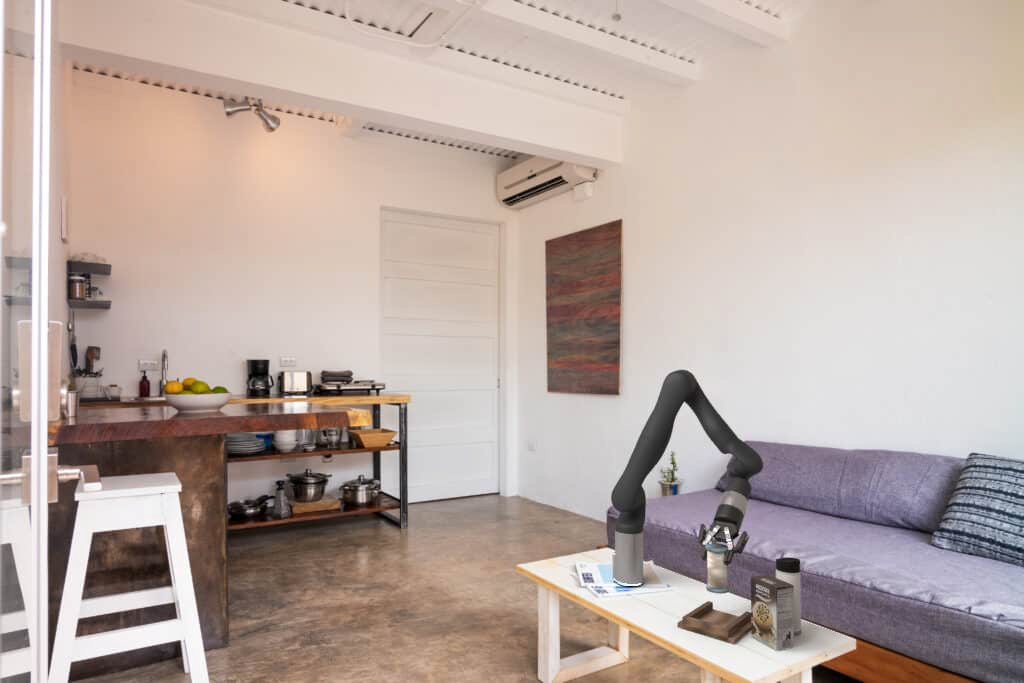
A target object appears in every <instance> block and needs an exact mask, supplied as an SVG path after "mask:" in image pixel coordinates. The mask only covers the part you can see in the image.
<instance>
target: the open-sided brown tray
mask: <svg viewBox="0 0 1024 683" xmlns="http://www.w3.org/2000/svg"><path fill="white" fill-rule="evenodd" d="M713 604H714V603H713V601H709V600H708V601H706V602H704V603H702V604H701V605H700V606H697V607H696V608H695V609H693V610H691V611H690V612H688V613H686V614H685V615H683V616H682V619H681V620H680V621H678V622H677V628H678V629H682V630H686V631H688V632H692V633H696V634H698V635H702V636H706V637H708V638H711V639H715V640H718V641H721V642H724V643H728V644H731V645H736V644H737V643H738V642H739V641H740V640H742V638H744V637H745V636H747V634H749V633H751V611H747V610H746V611H745V612H743V613H742V614H741V615H735V614H731V613H728V612H724V611H721V610H716V609H714V605H713Z"/></svg>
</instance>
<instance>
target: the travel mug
mask: <svg viewBox="0 0 1024 683" xmlns="http://www.w3.org/2000/svg"><path fill="white" fill-rule="evenodd" d="M801 577H802V576H801V560H800V558H795V557H785V556H784V557H781V558H776V559H775V578H777V579H780V580H782V581H785V582H787V583H789V584H792V585H794V637H796V636H800V635H801V634H802V588H801V586H802V584H801V581H802V580H801Z"/></svg>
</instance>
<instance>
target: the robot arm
mask: <svg viewBox="0 0 1024 683" xmlns="http://www.w3.org/2000/svg"><path fill="white" fill-rule="evenodd" d="M684 403H685V404H686V405H687V406H688V407H689V408H690V409H691V411H692V412H693V413H694V414H695V417H696V418H697V419H698V422H699V424H700V425H701V427H702V429H703V430H704V431H703V432H704V433H705V434H706V436H707V437H708V438H709V439H710V441H711V442H712V443H713V445H714V446H715V447H716V448H717V450H718V451H719V452H720V453H721V454H723V455H732V456H733V457H734V459H733V460H732V461H731V463H730V464H729V467H728V471H727V484H726V486H725V488H724V491H723V494H722V496H721V497H720V500H719V503H718V506H717V507H716V508H717V509H716V511H715V514H714V517H713V521H712V522H711V524H710V525H705V523H701V524H700V526H699V531H698V537H697V543H699V545H700V546H701V550H700V553H699V556H700V557H701V560H702V561H704V562H705V561H707V550H706V544H710V543H717V544H718V543H724V544H726V545H727V546H728V550H727V551H726V554H725V557H724V560H723V562H724V564H725V565H727V567H728V566H729V565H731V563H732V561H733V558H734V555H735V554H739V555H741V554H742V553H743V552H744V550H745V547H746V545H747V543H748V542H749V539H750V536H749V534H748V533H747V530H743V531H742V530H741V531H740V529H741V527H742V524H743V521H744V517H745V516H746V513H747V507H748V503H749V498H750V496H751V493H752V484H751V483H750V482H749V481H750V479H751V478H753V477H754V476H756V475H758V474H759V473H761V472H762V471H763V469H764V462H763V459H762V457H761V455H760V454H759V452H757V451H756V450H754V449H753V448H752V447H751V446H749V445H748V444H747V443H746V442H744V441H743V440H742V439H740V438H739V436H737V434H736V432H734V430H733V429H732V428H731V427H730V426H729V424H728V423H727V422H726V421H725V419H724V418H723V417H722V416H721V415H720V413H719V412H718V411H717V410H716V408H715V407H714V406H713V404H712V403H711V402H710V400H709V399H708V397H707V396H706V394H705V393H704V391H703V389H702V387H701V385H700V383H699V382H698V380H697V378H696V377H695V375H694V374H693V373H692V372H691V371H689V370H686V369H677V370H674V371H672V372H669V374H667V376H665V378H664V380H663V382H662V386H661V388H660V392H659V395H658V397H657V400H656V403H655V406H654V407H653V409H652V412H651V413H650V415H649V417H648V418H647V420H646V422H645V423H644V426H643V428H642V430H641V433H640V434H639V437H638V439H637V441H636V443H635V446H634V449H633V451H632V453H631V454H630V457H629V459H628V461H627V464H626V467H625V469H624V470H623V472H622V474H621V476H620V477H619V479H618V480H617V482H616V484H615V486H614V487H613V489H612V491H611V495H610V500H611V504H612V507H613V508H614V509H615V510H616V511H618V512H619V515H618V517H617V519H616V520H615V523H614V542H615V543H614V546H615V547H614V549H615V550H614V552H613V553H612V579H613V578H615V579H616V580H617V581H620V582H622V583H627V584H638V583H642V582H643V583H644V525H645V522H646V508H647V507H646V506H647V503H646V502H647V501H646V500H647V498H646V491H645V488H644V487H643V483H644V481H645V479H646V478H647V477H648V476H649V474H650V473H651V472H652V471H653V469H654V468H655V467H656V465H657V464H658V463H659V462H660V460H661V459H662V457H663V455H664V454H665V452H666V449H667V448H668V445H669V443H670V440H671V438H672V434H673V430H674V425H675V421H676V419H677V416H678V413H679V411H680V410H681V408H682V406H683V404H684ZM709 532H710V533H709ZM736 538H738V540H737V542H736V544H735V542H734V540H735V539H736Z"/></svg>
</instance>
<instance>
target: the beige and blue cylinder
mask: <svg viewBox="0 0 1024 683" xmlns="http://www.w3.org/2000/svg"><path fill="white" fill-rule="evenodd" d="M706 550H707V558H706V561H707V562H706V564H707V583H706V586H705V589H706V591H707V592H710V593H714V594H720V595H721V594H722V595H723V594H727V593H729V591H730V590H729V589H730V588H729V586H728V566H727V565H725V564H724V562H723V560H724V557H725V554H726V551H727V550H728V545H727V544H722V543H718V542H717V543H710V544H706Z"/></svg>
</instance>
